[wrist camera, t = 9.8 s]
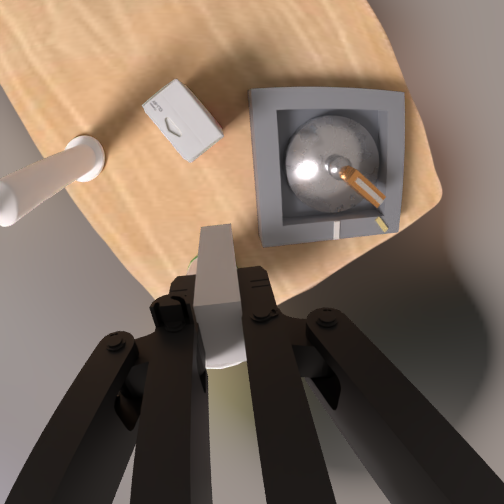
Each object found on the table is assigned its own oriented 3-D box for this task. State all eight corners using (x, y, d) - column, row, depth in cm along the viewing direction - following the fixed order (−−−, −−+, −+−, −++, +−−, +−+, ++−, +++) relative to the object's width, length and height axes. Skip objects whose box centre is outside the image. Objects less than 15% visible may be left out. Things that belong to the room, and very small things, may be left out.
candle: (92, 126, 39) (-16, 159, 16) (113, 166, 42) (23, 234, 20) (57, 150, 39) (-53, 203, 17) (77, 188, 42) (-18, 267, 20)
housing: (247, 90, 39) (251, 88, 35) (389, 91, 40) (405, 92, 36) (258, 235, 49) (263, 248, 45) (385, 221, 50) (399, 232, 46)
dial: (263, 172, 43) (272, 185, 37) (322, 95, 39) (342, 94, 32) (335, 224, 48) (353, 244, 41) (389, 155, 43) (414, 166, 37)
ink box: (224, 129, 41) (226, 137, 31) (196, 150, 42) (189, 166, 32) (186, 83, 38) (175, 75, 27) (159, 106, 39) (138, 106, 28)
